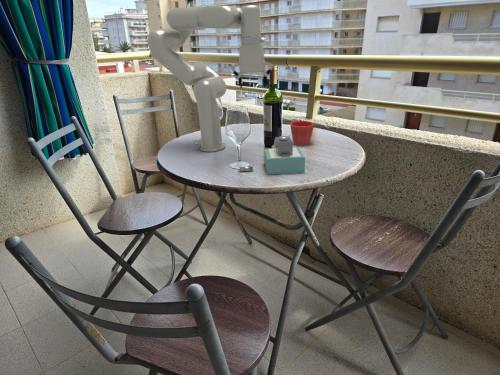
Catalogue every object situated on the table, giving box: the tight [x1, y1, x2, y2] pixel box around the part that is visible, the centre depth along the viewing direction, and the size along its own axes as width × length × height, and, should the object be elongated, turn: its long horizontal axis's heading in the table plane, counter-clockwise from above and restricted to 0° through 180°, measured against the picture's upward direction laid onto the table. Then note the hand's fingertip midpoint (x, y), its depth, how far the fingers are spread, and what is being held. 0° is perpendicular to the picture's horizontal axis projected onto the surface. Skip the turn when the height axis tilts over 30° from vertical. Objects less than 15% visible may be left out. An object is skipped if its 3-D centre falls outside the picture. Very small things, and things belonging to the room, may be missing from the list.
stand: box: [263, 146, 306, 175], centre depth 122 cm, size 14×12×6 cm
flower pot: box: [289, 120, 315, 146], centre depth 150 cm, size 11×11×10 cm
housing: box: [274, 135, 294, 157], centre depth 120 cm, size 11×6×6 cm, turn 3°
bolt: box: [239, 165, 254, 173], centre depth 122 cm, size 5×2×2 cm, turn 94°
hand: (252, 87), depth 131 cm, fingers open, 9 cm apart
